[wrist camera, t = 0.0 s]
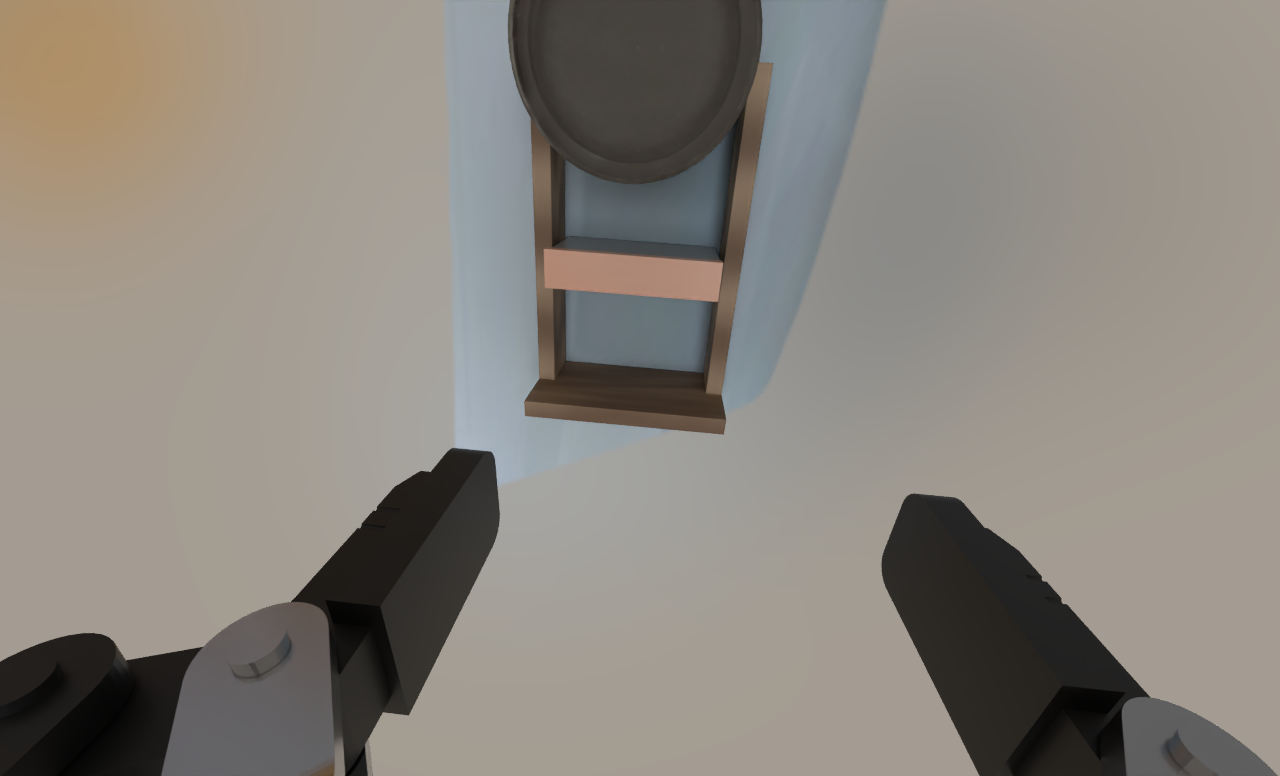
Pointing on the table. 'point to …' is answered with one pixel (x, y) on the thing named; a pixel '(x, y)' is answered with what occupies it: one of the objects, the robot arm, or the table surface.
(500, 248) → the table surface
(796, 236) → the table surface
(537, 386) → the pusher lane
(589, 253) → the pusher paddle
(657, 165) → the coffee can
